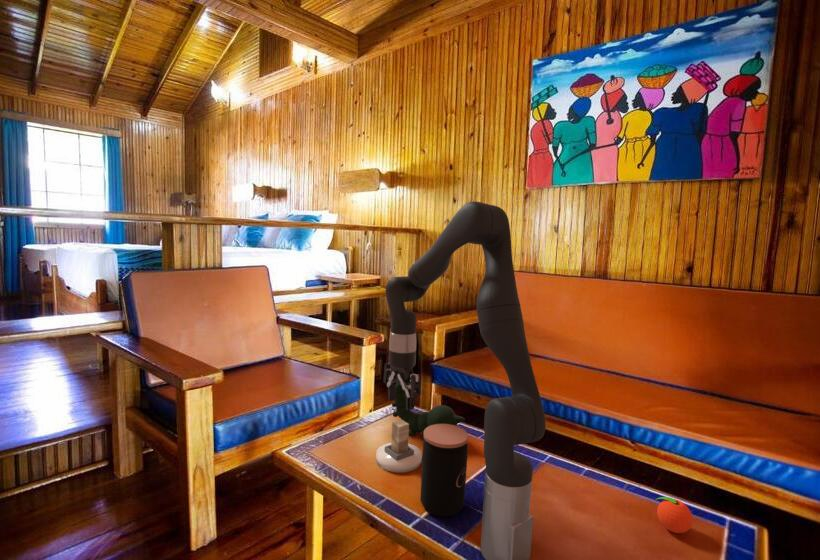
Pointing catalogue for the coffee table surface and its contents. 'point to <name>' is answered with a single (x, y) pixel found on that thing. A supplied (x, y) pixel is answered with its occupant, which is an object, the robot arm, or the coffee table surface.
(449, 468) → the coffee jar
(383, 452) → the candle dish
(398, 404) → the toy figurine
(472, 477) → the coffee table surface
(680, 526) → the clementine
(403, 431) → the wood grain block
